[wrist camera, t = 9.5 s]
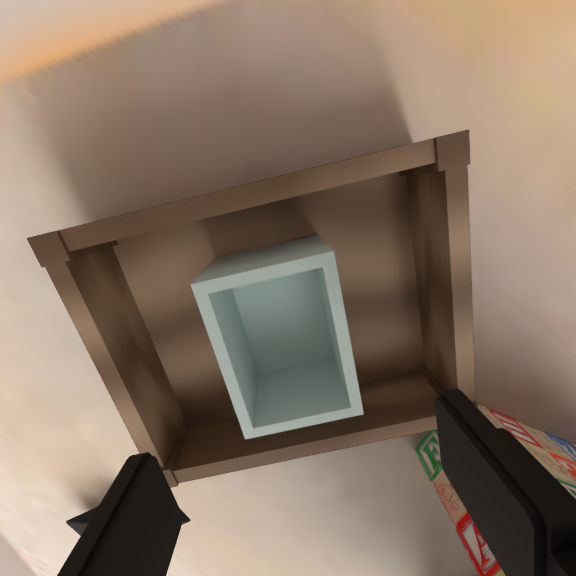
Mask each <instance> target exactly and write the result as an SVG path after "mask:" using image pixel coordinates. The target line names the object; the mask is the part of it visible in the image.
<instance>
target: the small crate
mask: <svg viewBox="0 0 576 576" xmlns="http://www.w3.org/2000/svg"><path fill="white" fill-rule="evenodd" d="M191 287H192V290H193V293H194V296H195V299H196V302H197V304H198V307H199V310H200V313H201V316H202V319H203V321H204V324H205V327H206V330H207V333H208V336H209V338H210V341H211V344H212V347H213V350H214V353H215V355H216V358H217V361H218V364H219V367H220V370H221V372H222V375H223V378H224V381H225V384H226V387H227V389H228V392H229V395H230V398H231V401H232V404H233V406H234V409H235V412H236V415H237V418H238V421H239V423H240V426H241V429H242V432H243V435H244V438H245V439H250V438H255V437H259V436H264V435H269V434H274V433H278V432H283V431H288V430H292V429H297V428H302V427H306V426H311V425H316V424H321V423H325V422H330V421H335V420H339V419H344V418H349V417H353V416H358V415H363V414H364V412H363V407H362V401H361V396H360V390H359V385H358V380H357V374H356V369H355V363H354V358H353V352H352V347H351V341H350V336H349V331H348V325H347V320H346V314H345V309H344V303H343V298H342V292H341V287H340V282H339V276H338V271H337V265H336V260H335V254H334V251H333V250H332V248H331V247H330V246H329V245H328V244H327V243H326V242H325V241H324V240H323V239H322V238H321V237H320V236H319V235H318V234H314V235H310V236H305V237H301V238H297V239H293V240H288V241H284V242H280V243H276V244H272V245H267V246H263V247H259V248H255V249H250V250H246V251H242V252H238V253H234V254H229V255H225V256H221V257H217V258H214V259H213V261H212V262H211V263H210V264H209V265H208V266H207V267H206V268H205V269H204V270H203V271H202V273H201V274H200V275H199V276H198V277H197V278H196V279H195V280H194V281H193V282H192V284H191Z"/></svg>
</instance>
